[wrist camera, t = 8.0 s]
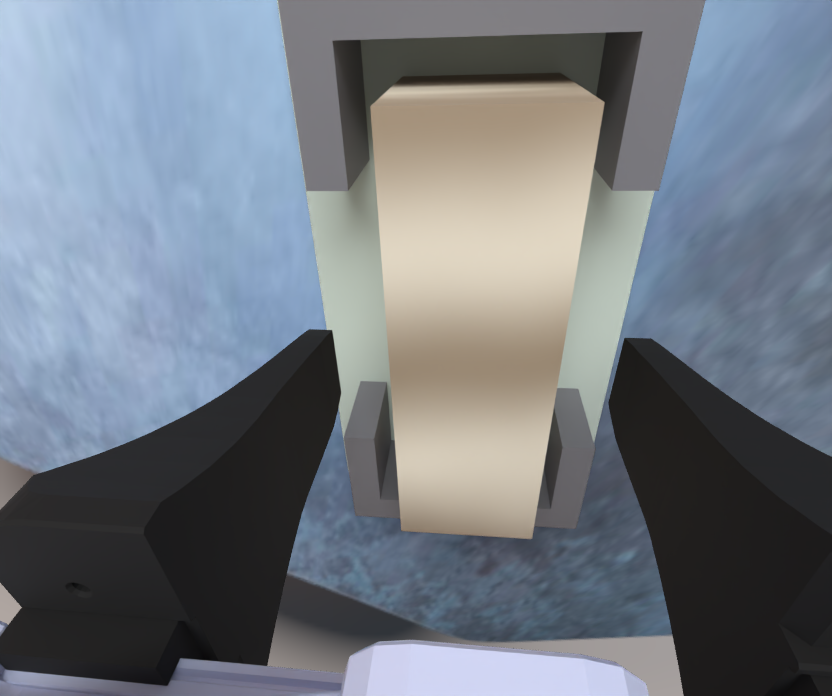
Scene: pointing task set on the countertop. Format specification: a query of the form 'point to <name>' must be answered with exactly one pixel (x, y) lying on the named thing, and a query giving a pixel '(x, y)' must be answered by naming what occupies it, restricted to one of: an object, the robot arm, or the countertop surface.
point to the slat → (478, 284)
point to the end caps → (357, 198)
